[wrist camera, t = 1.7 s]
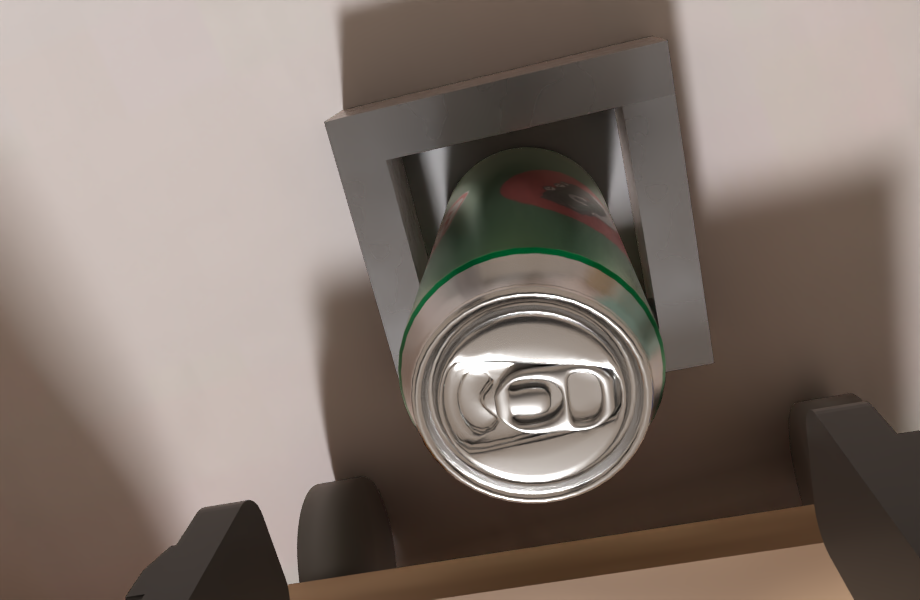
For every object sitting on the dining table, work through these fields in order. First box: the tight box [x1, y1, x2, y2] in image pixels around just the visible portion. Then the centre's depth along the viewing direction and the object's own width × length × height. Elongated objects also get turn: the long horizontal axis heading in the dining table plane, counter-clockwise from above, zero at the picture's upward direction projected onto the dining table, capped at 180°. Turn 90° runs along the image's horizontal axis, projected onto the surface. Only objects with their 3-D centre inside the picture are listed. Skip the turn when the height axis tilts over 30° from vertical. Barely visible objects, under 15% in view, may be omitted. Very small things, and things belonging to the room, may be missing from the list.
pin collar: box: [324, 36, 714, 378], centre depth 24 cm, size 9×9×2 cm
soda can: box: [398, 147, 666, 503], centre depth 20 cm, size 5×5×12 cm
